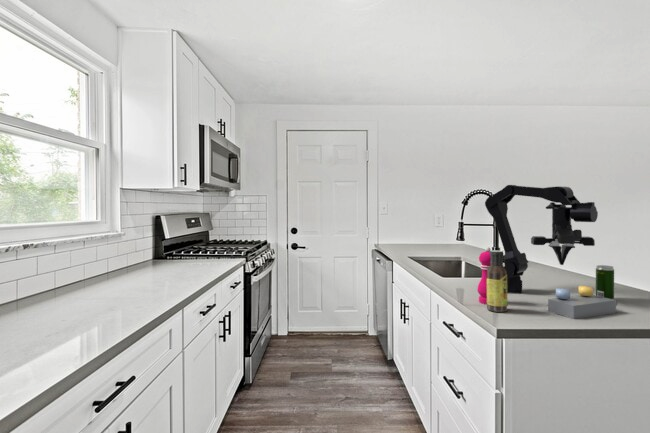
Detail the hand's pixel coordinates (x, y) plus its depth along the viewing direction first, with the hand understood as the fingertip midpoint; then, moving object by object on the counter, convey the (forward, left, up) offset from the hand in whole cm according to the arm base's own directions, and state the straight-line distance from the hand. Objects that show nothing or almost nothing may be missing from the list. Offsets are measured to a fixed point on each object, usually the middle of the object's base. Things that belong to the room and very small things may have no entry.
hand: (561, 264), depth 136 cm
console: (+2, -14, -13) cm, 19 cm away
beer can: (+15, +6, -13) cm, 21 cm away
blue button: (-3, -15, -12) cm, 19 cm away
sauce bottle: (-23, -19, -13) cm, 33 cm away
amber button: (+5, -9, -12) cm, 16 cm away
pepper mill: (-25, -9, -13) cm, 30 cm away
